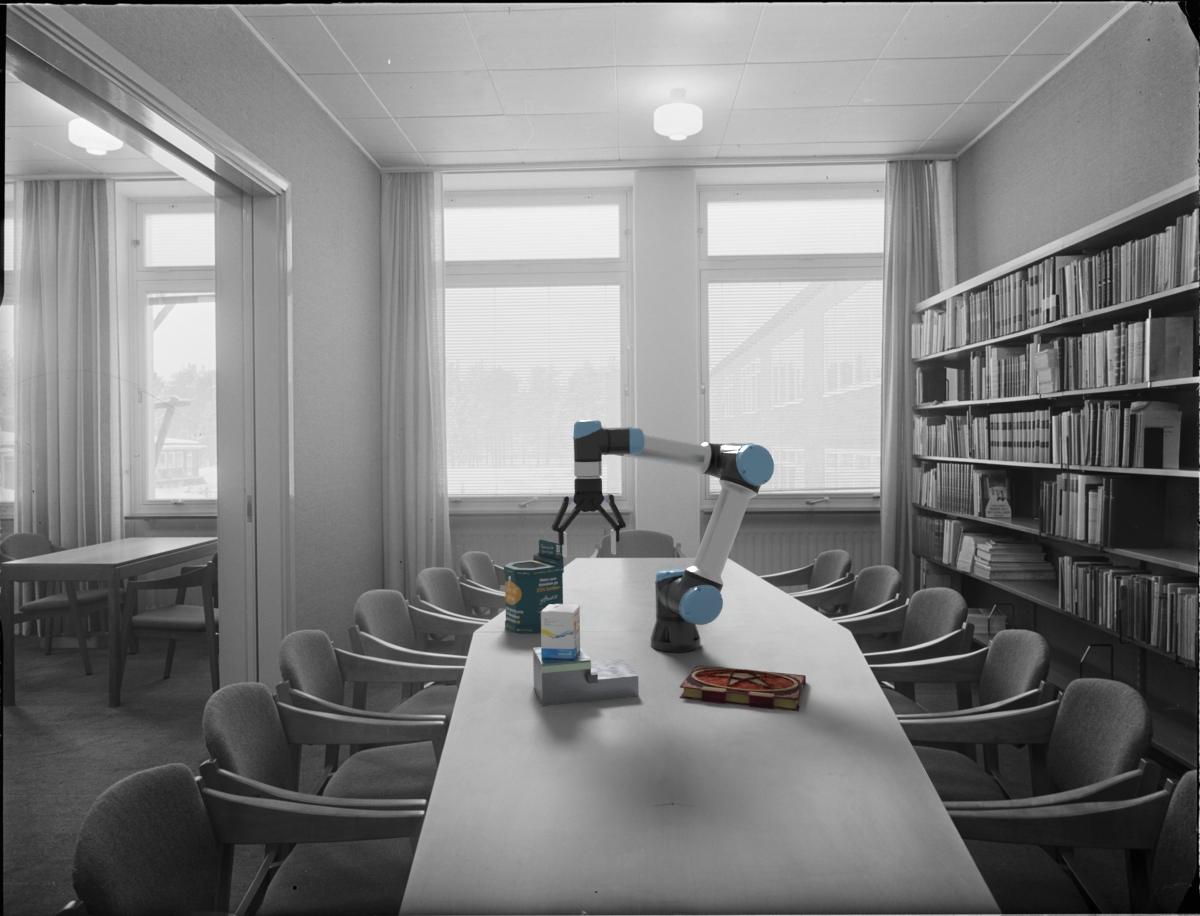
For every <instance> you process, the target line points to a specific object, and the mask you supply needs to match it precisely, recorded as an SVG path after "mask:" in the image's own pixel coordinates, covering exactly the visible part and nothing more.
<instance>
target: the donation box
mask: <svg viewBox="0 0 1200 916" xmlns="http://www.w3.org/2000/svg"><path fill="white" fill-rule="evenodd" d="M532 556H533V558H532V559H530V560H521V561H514V562H508V563H507V564H505V565H503V574H504V588H505V589H504V590H505V591H504V592H505V594H504V596H505V620H504V628H505V629H506V630H508V631H510V632H512V633H515V634H529V635H530V634H531V635H535V634H539V633H540V634H541V611H542V610H543V609H544V608H545V607H546V606H548V605H549V604H564V591H563V590H564V589H563V588H564V582H563V579H564V578H563V577H564V575H563V573H564V571H565V569H564V566H565V565H564V557H563V556H562V545H560V544H559V542H555V541H550V540H546V539H542V538H540V539H539V540H538V552H537V553H535V554H533V555H532Z"/></svg>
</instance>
